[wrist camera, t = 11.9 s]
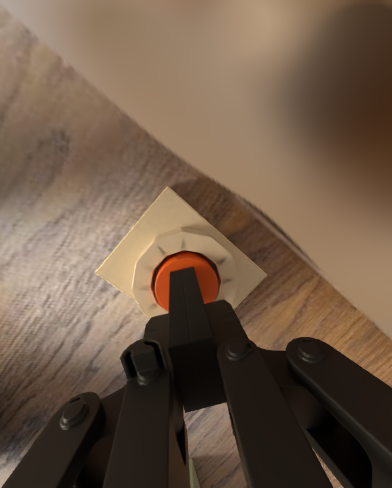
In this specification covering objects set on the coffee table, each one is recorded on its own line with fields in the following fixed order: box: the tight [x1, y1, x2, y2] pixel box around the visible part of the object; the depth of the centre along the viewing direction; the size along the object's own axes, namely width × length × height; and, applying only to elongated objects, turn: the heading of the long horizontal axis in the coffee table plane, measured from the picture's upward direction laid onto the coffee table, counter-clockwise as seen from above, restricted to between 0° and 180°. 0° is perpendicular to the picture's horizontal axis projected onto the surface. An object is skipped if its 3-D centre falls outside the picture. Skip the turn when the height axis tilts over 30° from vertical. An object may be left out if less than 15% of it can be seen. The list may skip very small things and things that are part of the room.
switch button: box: [155, 250, 218, 312], centre depth 15 cm, size 4×4×2 cm
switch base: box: [95, 186, 267, 319], centre depth 16 cm, size 10×8×4 cm
